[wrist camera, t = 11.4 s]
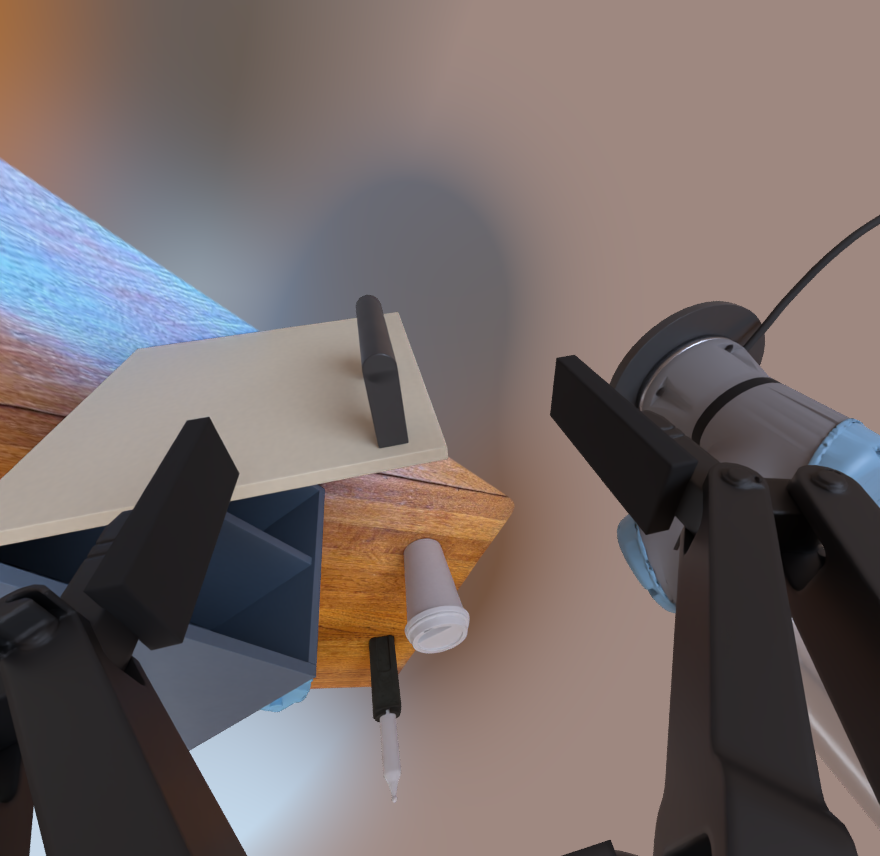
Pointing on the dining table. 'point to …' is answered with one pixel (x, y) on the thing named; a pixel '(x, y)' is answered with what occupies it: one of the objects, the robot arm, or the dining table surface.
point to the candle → (386, 705)
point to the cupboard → (220, 610)
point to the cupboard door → (233, 420)
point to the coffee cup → (432, 600)
